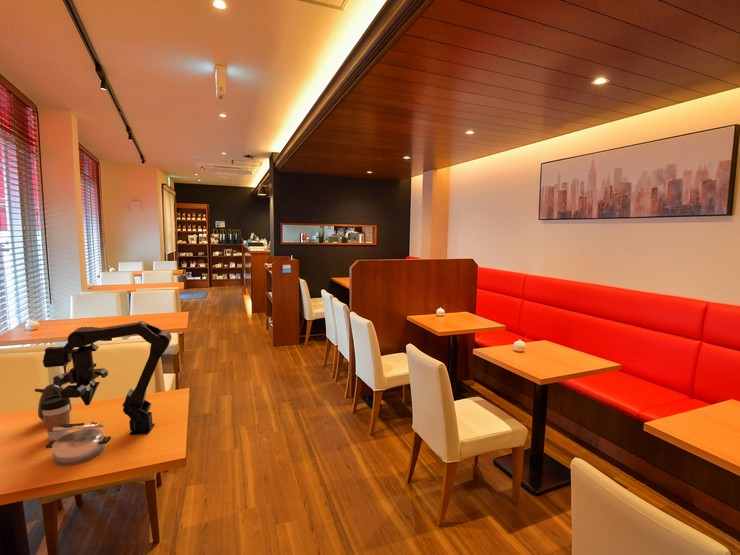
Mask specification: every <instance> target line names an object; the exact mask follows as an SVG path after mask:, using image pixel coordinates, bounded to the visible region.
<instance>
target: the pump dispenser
mask: <svg viewBox="0 0 740 555" xmlns="http://www.w3.org/2000/svg"><path fill="white" fill-rule="evenodd" d="M63 389H64V387H63V386H60V387H59V386H56V385H55V384H53V383H50V384H48V385H46V386H45V387H44V388H34V392H36V393H40V394H41V395H40V397H39V400H38V406H37V407H38V408H37V416H38V418H39V419H40V421H41V422H42V423H44V424H45V422H44V418H43V411H42V410H41V409H40V408H41V407H40V406H41V402H42V400H44V399H45V398H47V397H50V396H54V395H60V392H61V391H62V390H63ZM72 406H73V405H72V403H71V401H70V403H69V407H70V413H71V411H72V408H73V407H72Z"/></svg>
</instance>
